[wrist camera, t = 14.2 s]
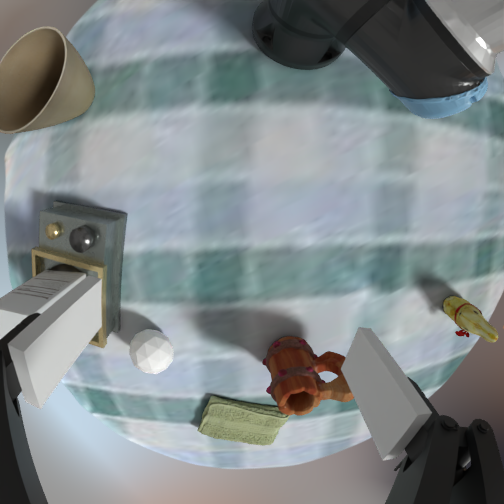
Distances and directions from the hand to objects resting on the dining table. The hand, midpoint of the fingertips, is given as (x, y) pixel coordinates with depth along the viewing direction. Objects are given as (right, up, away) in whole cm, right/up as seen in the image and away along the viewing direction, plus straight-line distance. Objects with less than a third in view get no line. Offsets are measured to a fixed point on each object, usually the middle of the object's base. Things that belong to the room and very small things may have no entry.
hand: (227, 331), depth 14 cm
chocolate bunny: (+44, -8, +37) cm, 58 cm away
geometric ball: (-16, -12, +36) cm, 41 cm away
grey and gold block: (-28, +1, +32) cm, 42 cm away
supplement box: (-28, -3, +27) cm, 39 cm away
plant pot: (-28, +30, +24) cm, 47 cm away
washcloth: (-1, -32, +43) cm, 54 cm away
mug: (+10, -13, +37) cm, 41 cm away
